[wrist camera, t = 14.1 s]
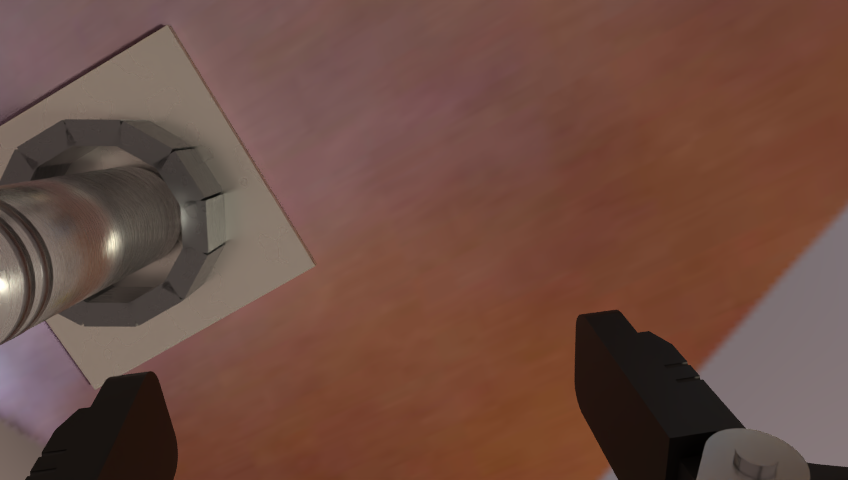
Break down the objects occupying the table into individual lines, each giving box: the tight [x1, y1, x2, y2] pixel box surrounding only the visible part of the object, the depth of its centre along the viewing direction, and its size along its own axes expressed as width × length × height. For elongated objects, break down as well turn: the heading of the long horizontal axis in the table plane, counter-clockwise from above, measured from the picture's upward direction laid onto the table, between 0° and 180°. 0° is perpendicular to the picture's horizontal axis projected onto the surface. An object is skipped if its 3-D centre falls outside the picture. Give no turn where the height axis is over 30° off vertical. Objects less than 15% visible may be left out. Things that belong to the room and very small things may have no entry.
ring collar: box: [0, 25, 316, 390], centre depth 32 cm, size 14×14×4 cm
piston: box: [0, 166, 181, 345], centre depth 26 cm, size 5×5×14 cm
